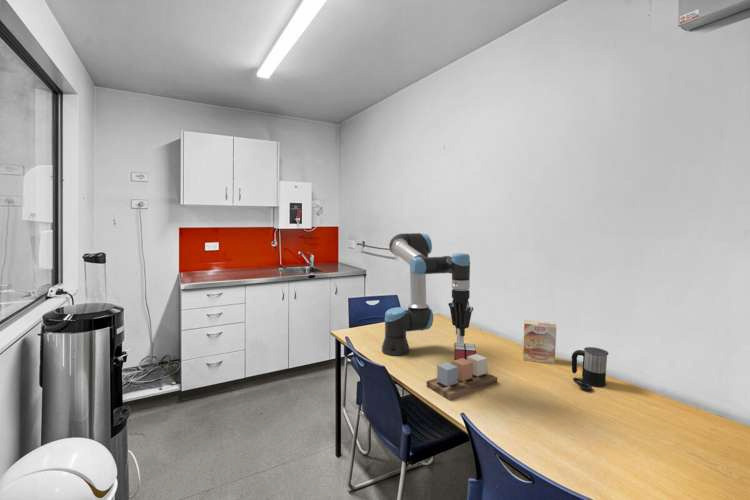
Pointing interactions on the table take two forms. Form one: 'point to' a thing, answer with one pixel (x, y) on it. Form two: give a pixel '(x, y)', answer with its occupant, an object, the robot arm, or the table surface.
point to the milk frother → (591, 367)
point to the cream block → (478, 364)
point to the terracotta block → (464, 369)
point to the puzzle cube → (463, 350)
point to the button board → (462, 386)
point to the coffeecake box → (539, 341)
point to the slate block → (447, 374)
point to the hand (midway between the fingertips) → (460, 342)
